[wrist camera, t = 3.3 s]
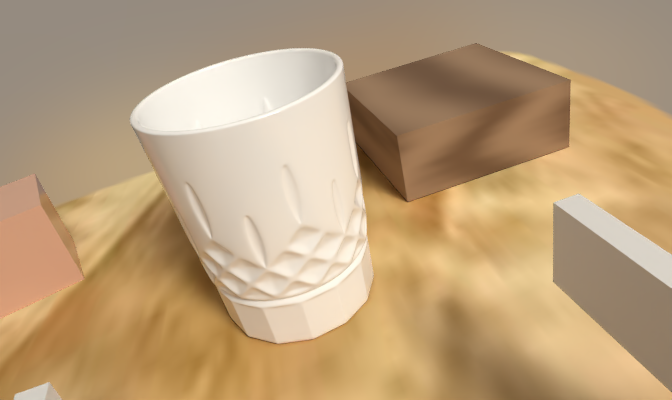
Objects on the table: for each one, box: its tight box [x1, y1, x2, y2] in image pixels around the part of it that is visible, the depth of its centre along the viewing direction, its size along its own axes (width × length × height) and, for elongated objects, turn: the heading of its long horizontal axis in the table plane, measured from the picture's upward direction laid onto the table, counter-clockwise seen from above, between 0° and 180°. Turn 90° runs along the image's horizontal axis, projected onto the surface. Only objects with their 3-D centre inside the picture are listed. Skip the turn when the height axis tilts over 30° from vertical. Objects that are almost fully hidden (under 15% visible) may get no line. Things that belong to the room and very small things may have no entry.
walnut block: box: [346, 43, 571, 202], centre depth 32 cm, size 10×10×4 cm
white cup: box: [130, 48, 374, 344], centre depth 22 cm, size 8×8×10 cm
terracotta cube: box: [0, 174, 84, 319], centre depth 29 cm, size 5×5×5 cm
